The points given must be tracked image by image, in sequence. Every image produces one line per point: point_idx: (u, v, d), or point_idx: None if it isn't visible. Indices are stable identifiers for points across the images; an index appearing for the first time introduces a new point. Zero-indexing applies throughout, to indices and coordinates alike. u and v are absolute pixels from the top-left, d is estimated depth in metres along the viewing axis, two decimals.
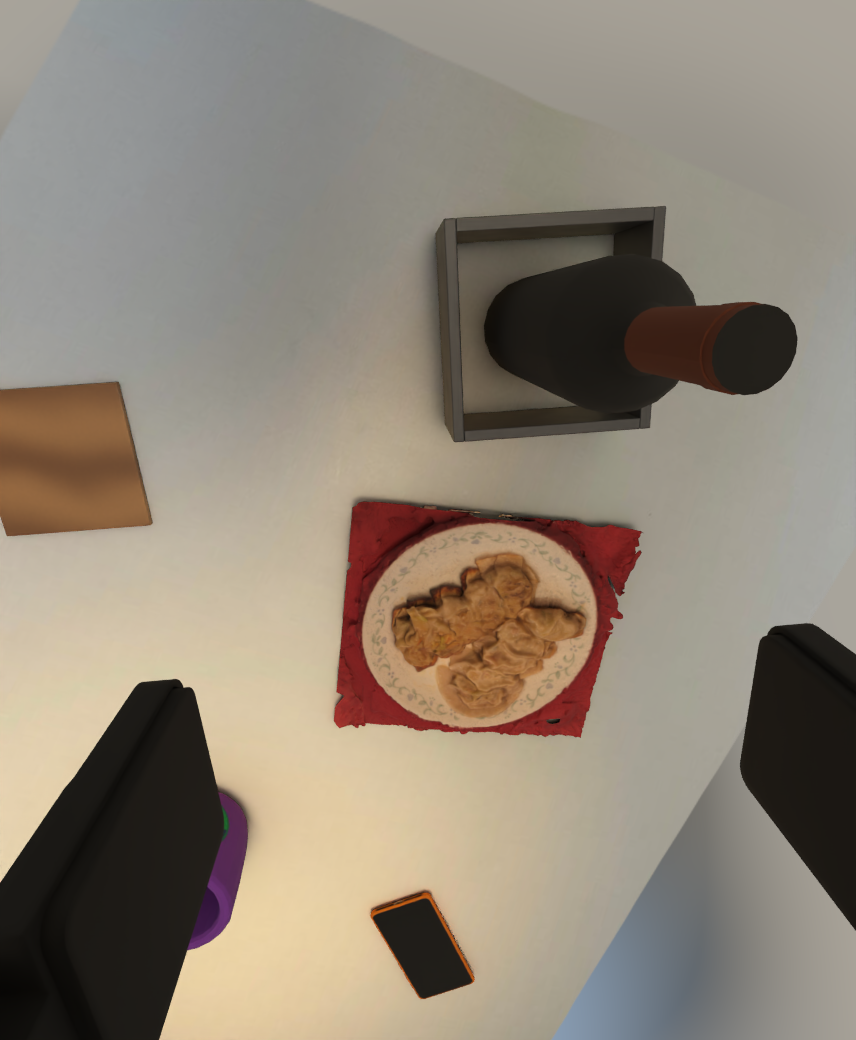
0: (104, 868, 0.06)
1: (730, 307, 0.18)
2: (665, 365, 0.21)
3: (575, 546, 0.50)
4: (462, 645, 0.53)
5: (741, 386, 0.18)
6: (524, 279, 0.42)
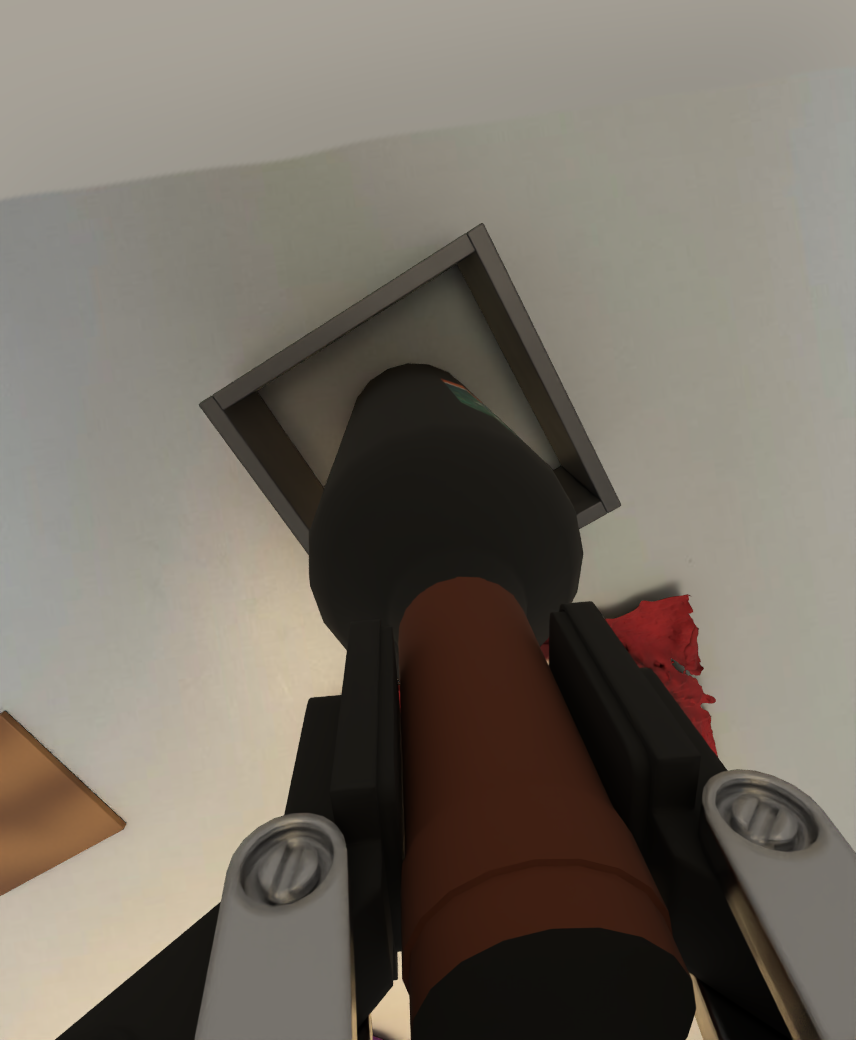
0: (395, 752, 0.07)
1: (431, 901, 0.06)
2: None
3: None
4: None
5: None
6: (362, 395, 0.30)
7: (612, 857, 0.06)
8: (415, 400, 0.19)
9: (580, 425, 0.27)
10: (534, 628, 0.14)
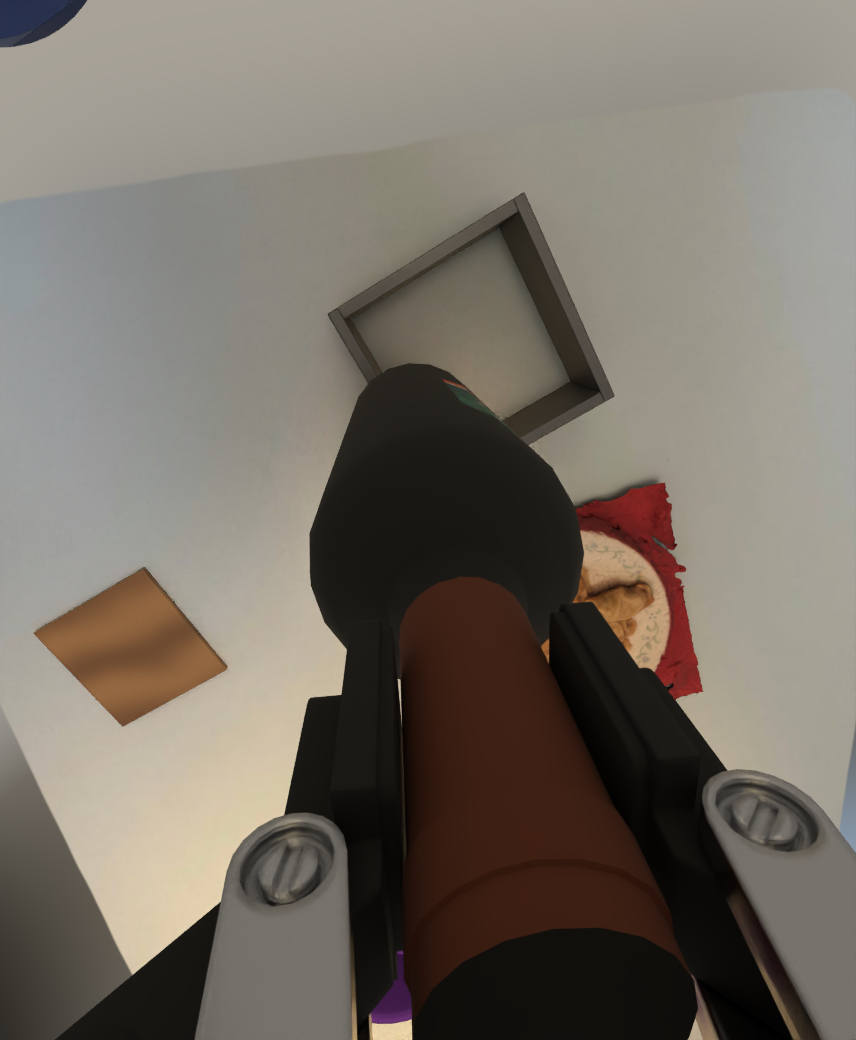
0: (395, 752, 0.07)
1: (432, 901, 0.06)
2: None
3: (604, 525, 0.49)
4: None
5: None
6: (363, 395, 0.30)
7: (613, 857, 0.06)
8: (416, 400, 0.19)
9: (586, 335, 0.39)
10: (534, 628, 0.14)
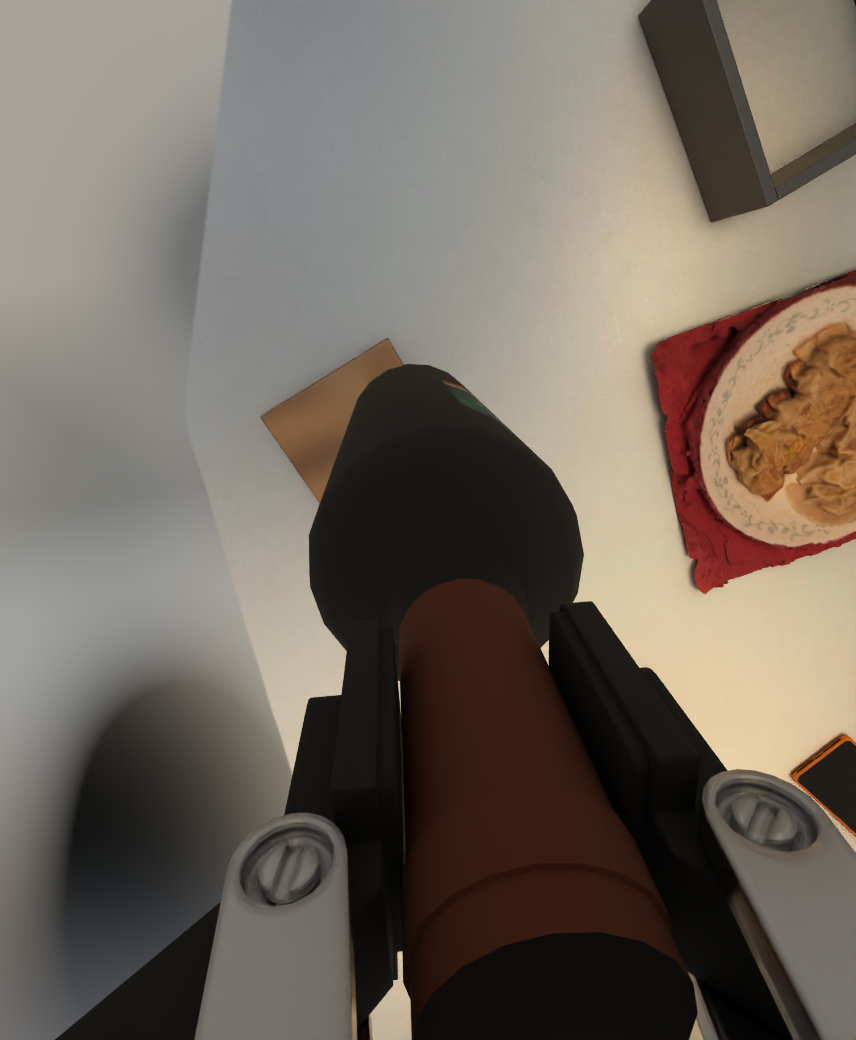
0: (395, 752, 0.07)
1: (432, 906, 0.06)
2: None
3: None
4: (811, 448, 0.48)
5: None
6: (362, 396, 0.30)
7: (613, 861, 0.06)
8: (415, 401, 0.19)
9: None
10: (534, 629, 0.14)
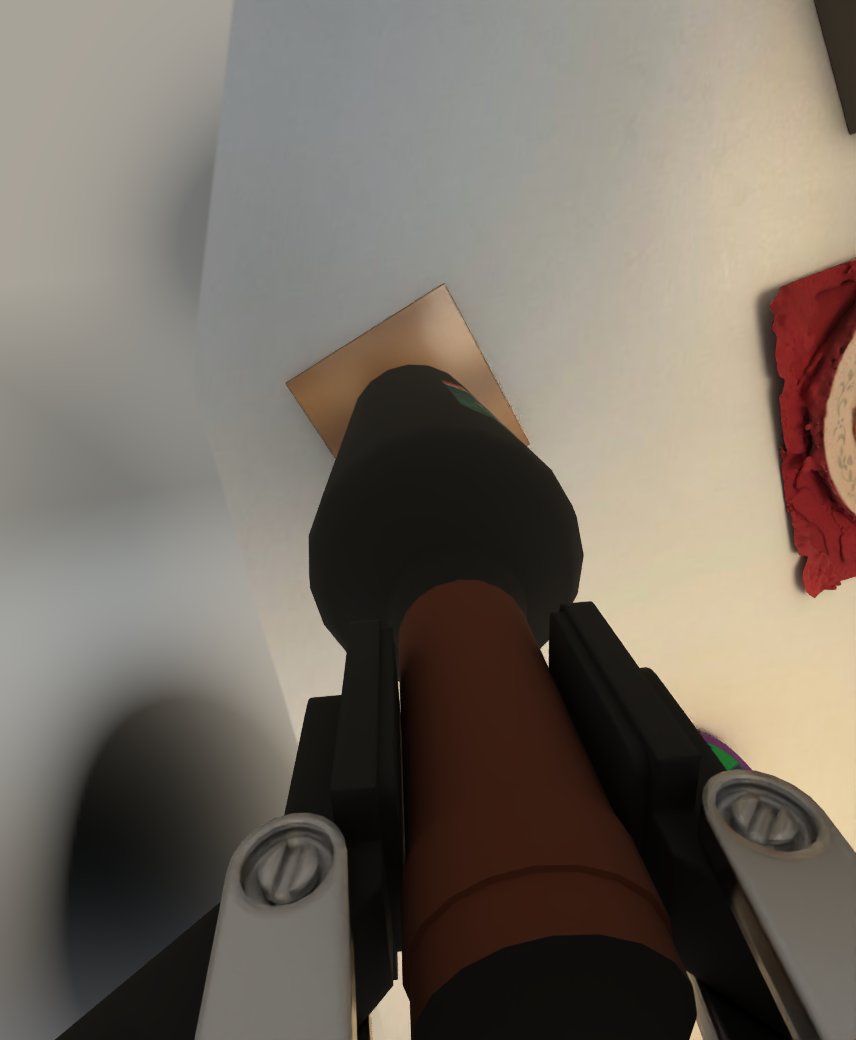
0: (395, 752, 0.07)
1: (431, 908, 0.06)
2: None
3: None
4: None
5: None
6: (362, 396, 0.30)
7: (613, 863, 0.06)
8: (415, 402, 0.19)
9: None
10: (534, 630, 0.14)
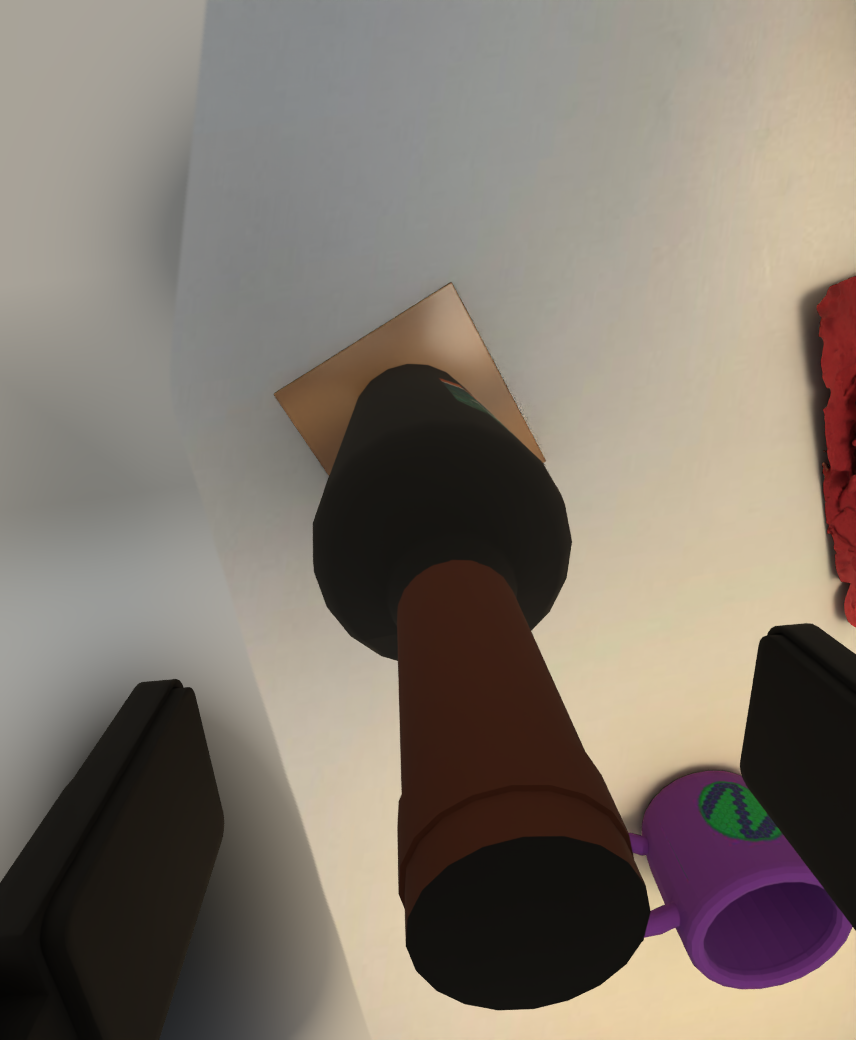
0: (104, 867, 0.06)
1: (423, 824, 0.07)
2: None
3: None
4: None
5: (549, 990, 0.07)
6: (363, 394, 0.31)
7: (579, 786, 0.07)
8: (413, 398, 0.20)
9: None
10: (524, 610, 0.15)
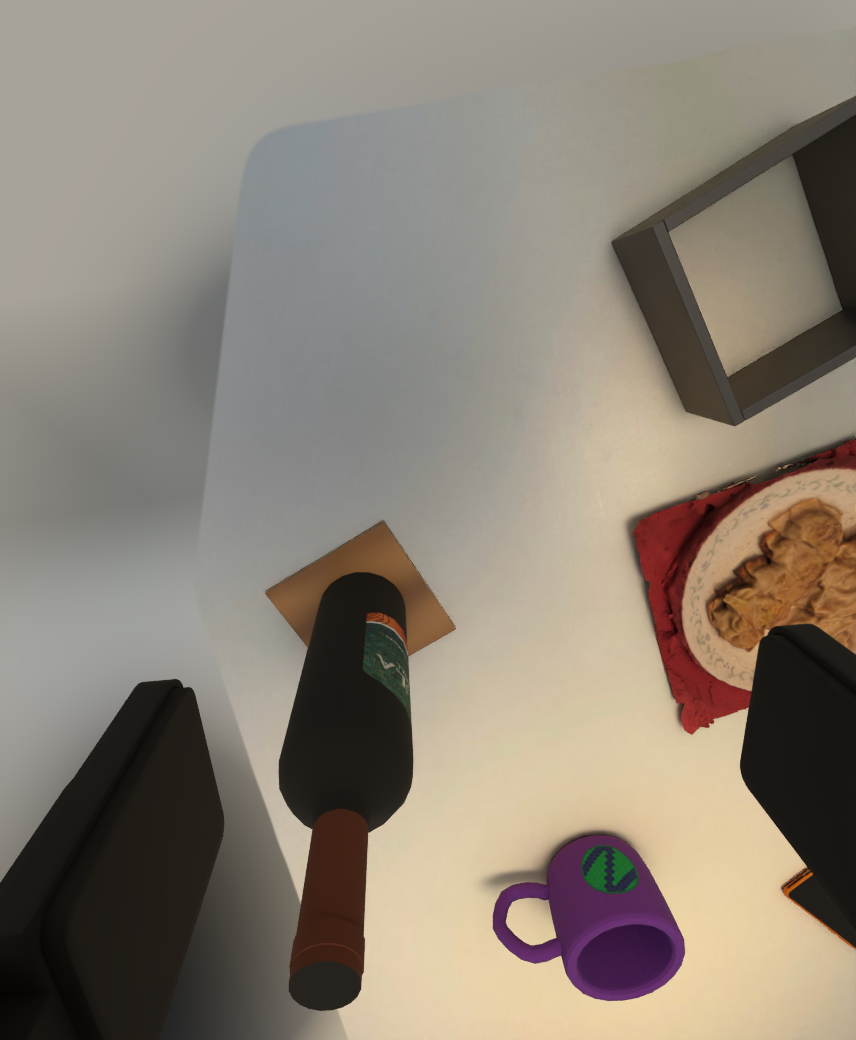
0: (104, 868, 0.06)
1: (295, 954, 0.22)
2: None
3: None
4: (788, 609, 0.51)
5: (335, 1004, 0.22)
6: (323, 604, 0.46)
7: (343, 942, 0.22)
8: (338, 668, 0.35)
9: None
10: (381, 815, 0.30)
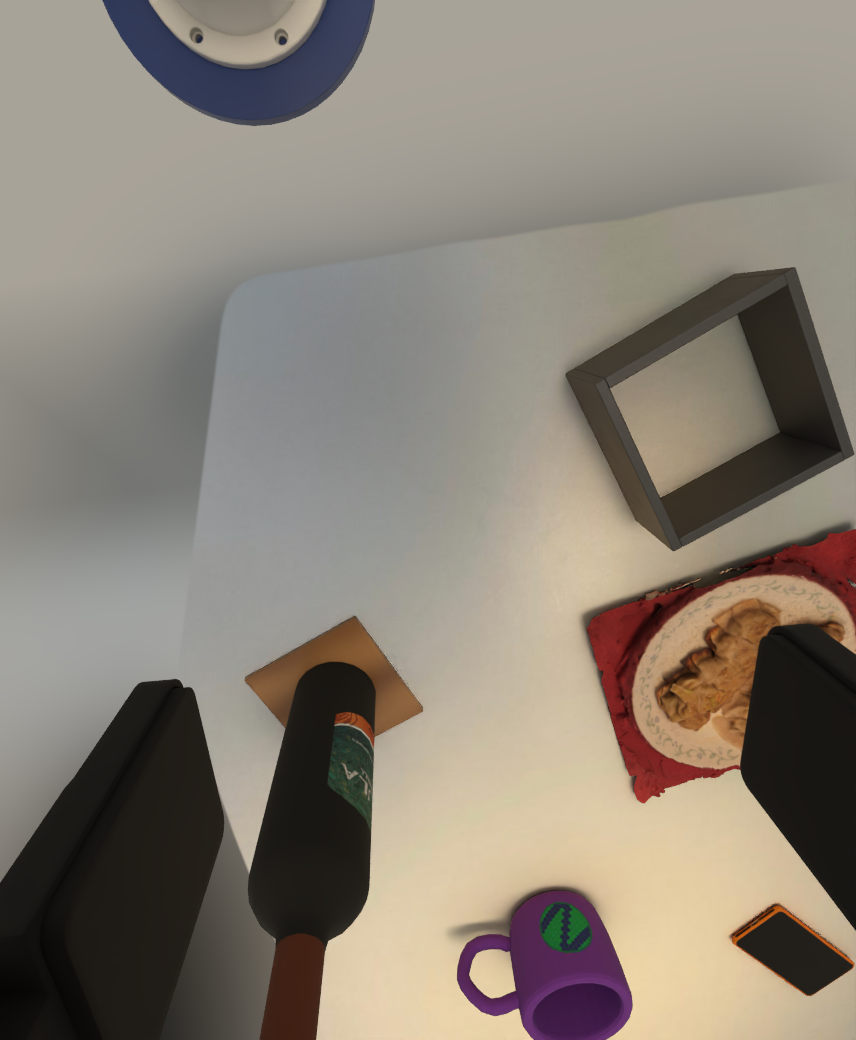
0: (104, 867, 0.06)
1: None
2: None
3: (806, 570, 0.50)
4: (731, 696, 0.55)
5: None
6: (297, 696, 0.50)
7: None
8: (305, 782, 0.39)
9: (836, 399, 0.40)
10: (338, 930, 0.34)
